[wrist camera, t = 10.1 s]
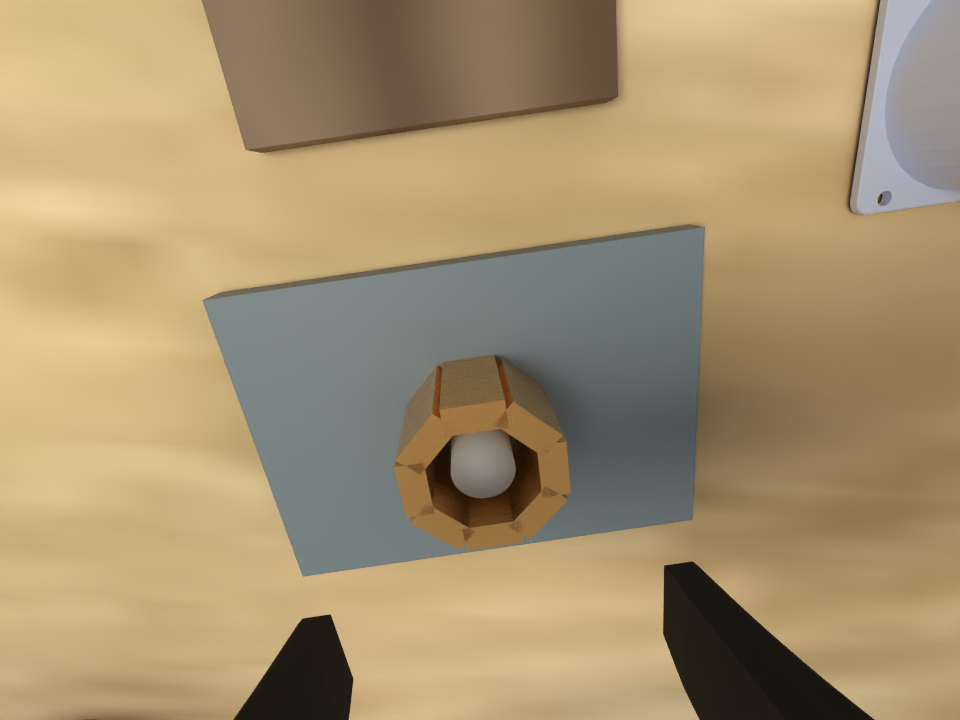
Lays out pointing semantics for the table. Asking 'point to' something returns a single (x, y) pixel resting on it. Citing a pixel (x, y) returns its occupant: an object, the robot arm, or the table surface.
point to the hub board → (460, 335)
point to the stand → (406, 63)
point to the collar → (475, 408)
